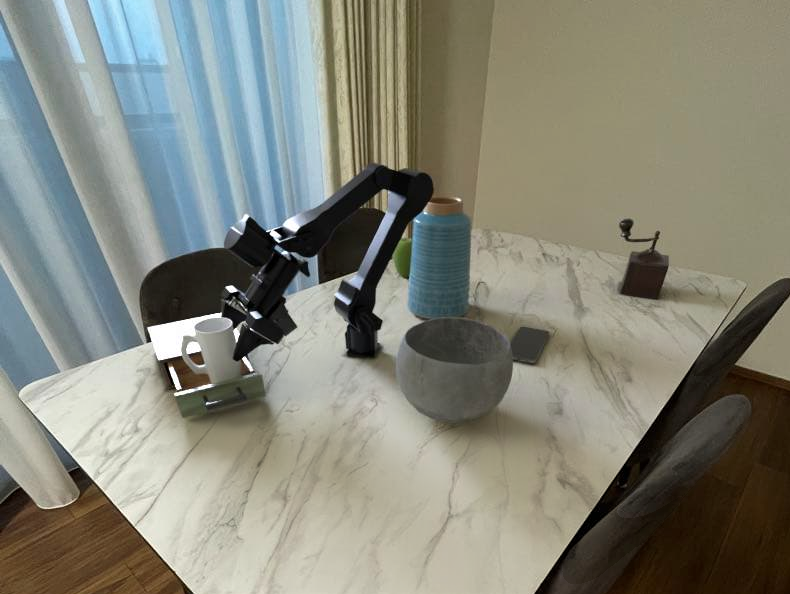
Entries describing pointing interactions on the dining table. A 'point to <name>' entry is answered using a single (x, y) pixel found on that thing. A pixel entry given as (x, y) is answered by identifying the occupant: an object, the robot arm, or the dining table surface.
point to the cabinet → (176, 343)
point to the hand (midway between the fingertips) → (227, 350)
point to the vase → (440, 260)
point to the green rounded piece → (403, 256)
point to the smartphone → (528, 344)
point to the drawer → (212, 387)
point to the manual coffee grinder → (643, 267)
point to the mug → (214, 349)
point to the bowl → (454, 368)
